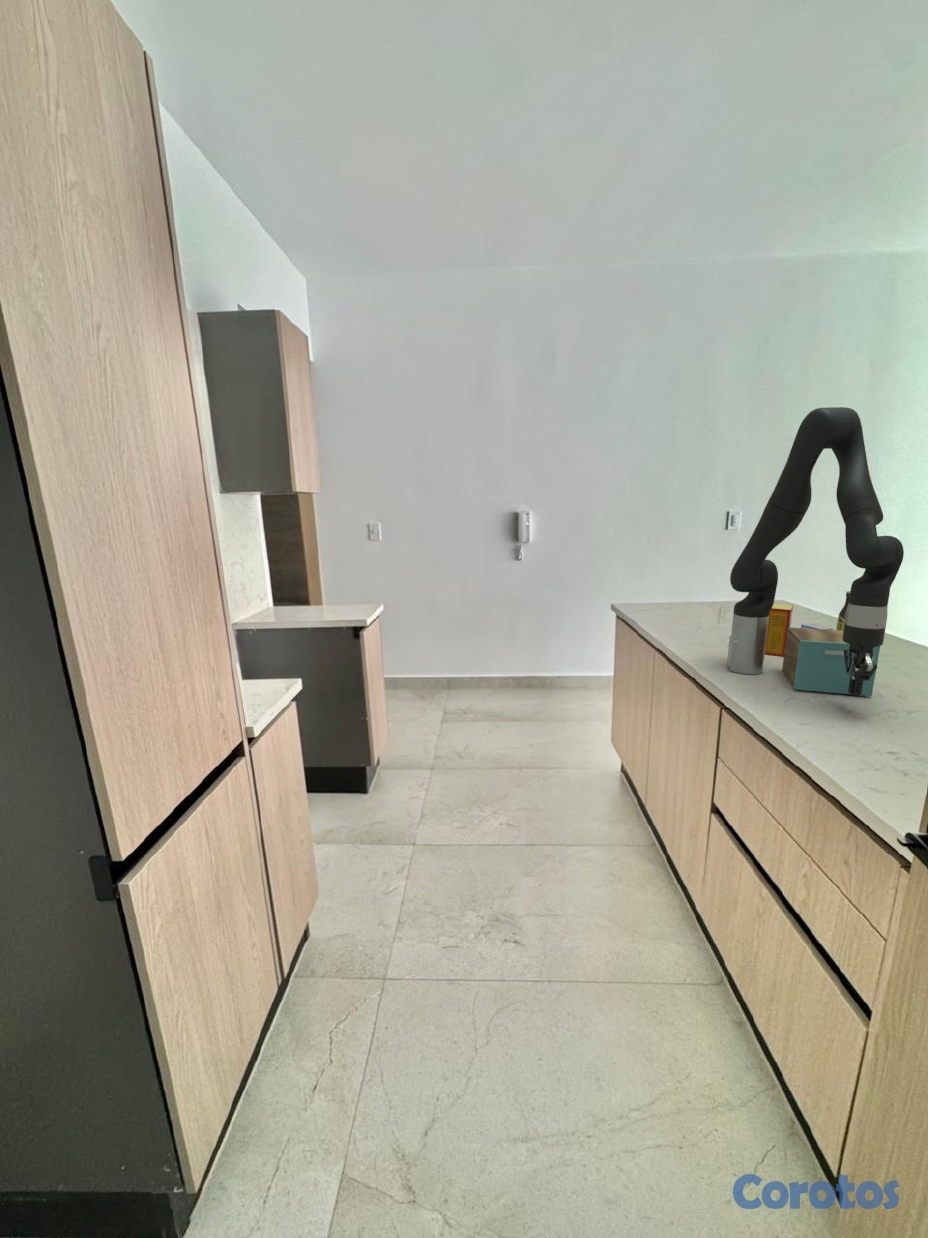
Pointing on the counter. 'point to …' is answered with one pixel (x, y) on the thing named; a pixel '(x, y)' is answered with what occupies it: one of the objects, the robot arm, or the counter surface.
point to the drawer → (827, 668)
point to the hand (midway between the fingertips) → (854, 694)
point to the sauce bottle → (843, 613)
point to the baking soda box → (778, 629)
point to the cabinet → (794, 640)
